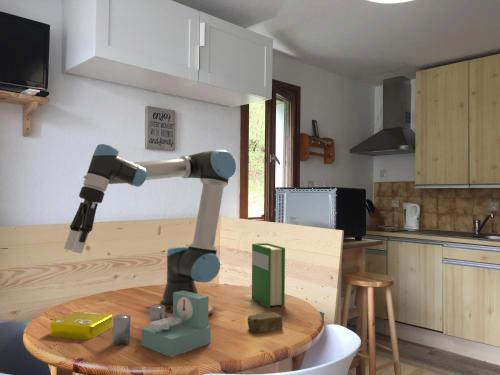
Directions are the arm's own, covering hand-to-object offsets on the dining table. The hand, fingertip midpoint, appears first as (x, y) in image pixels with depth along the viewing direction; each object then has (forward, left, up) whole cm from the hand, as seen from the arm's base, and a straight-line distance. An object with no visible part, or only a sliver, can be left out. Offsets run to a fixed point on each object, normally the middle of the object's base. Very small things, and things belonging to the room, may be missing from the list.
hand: (72, 251), depth 134 cm
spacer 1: (-6, +19, -27) cm, 33 cm away
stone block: (-46, +43, -27) cm, 69 cm away
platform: (-13, +32, -22) cm, 41 cm away
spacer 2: (-20, +18, -27) cm, 38 cm away
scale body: (-17, +32, -27) cm, 45 cm away
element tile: (-4, -1, -27) cm, 28 cm away
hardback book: (-75, +22, -27) cm, 83 cm away
